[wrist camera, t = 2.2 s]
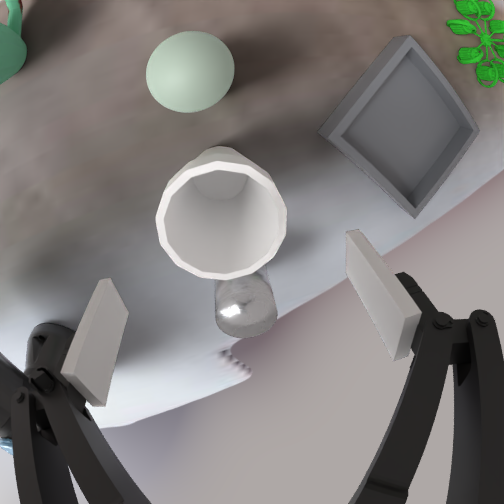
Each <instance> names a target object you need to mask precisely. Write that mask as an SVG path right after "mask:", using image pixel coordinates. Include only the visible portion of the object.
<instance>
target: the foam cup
mask: <svg viewBox="0 0 504 504" xmlns="http://www.w3.org/2000/svg"><path fill="white" fill-rule="evenodd" d="M155 220H156V225H157V230H158V236H159V241H160V245H161V246H162V247H163V249H164V250H165V251H166V253H167V254H168V255H169V256H170V258H171V259H172V260H173V262H174V263H175V264H176V265H177V266H179V267H181V268H183V269H185V270H186V271H188V272H190V273H192V274H194V275H196V276H198V277H200V278H209V279H218V280H230V279H233V278H237V277H241V276H245V275H248V274H252V273H254V272H255V271H256V270H258V269H259V268H260V267H262V266H263V265H264V264H266V263H267V262H268V261H270V260H271V259H272V258H274V256H275V254H276V252H277V250H278V248H279V247H280V245H281V243H282V241H283V239H284V238H285V236H286V222H287V207H286V205H285V203H284V201H283V200H282V198H281V196H280V194H279V192H278V190H277V188H276V186H275V184H274V182H273V180H272V178H271V177H270V175H269V173H268V172H266V171H265V170H263V169H262V168H260V167H259V166H258V165H256V164H255V163H253V162H252V161H250V160H249V159H248V158H246V157H244V156H243V155H241V154H240V153H238V152H237V151H236V150H234V149H233V148H230V147H223V146H216V147H213V148H209V149H206V150H204V151H203V152H202V153H201V154H200V155H199V156H198V157H197V158H196V159H195V160H193V161H189V162H188V163H187V164H186V165H185V166H184V167H183V168H182V169H181V170H180V171H179V172H178V173H177V174H175V175H174V176H173V177H172V178H171V179H170V180H169V182H168V184H167V186H166V188H165V190H164V193H163V196H162V199H161V202H160V205H159V208H158V211H157V214H156V217H155Z"/></svg>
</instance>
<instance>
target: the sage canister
mask: <svg viewBox="0 0 504 504" xmlns="http://www.w3.org/2000/svg"><path fill="white" fill-rule="evenodd" d="M233 77H234V61H233V57H232V55H231V53H230V51H229V49H228V48H227V46H226V45H225V44H224V43H223V42H222V41H221V40H219V39H218V38H216V37H215V36H213V35H211V34H208V33H205V32H199V31H187V32H182V33H178V34H176V35H173V36H171V37H169V38H168V39H166V40H165V41H163V42H162V43H161V44H160V45H159V46H158V47H157V48H156V49H155V50H154V52H153V53H152V55H151V57H150V59H149V61H148V65H147V70H146V79H147V84H148V88H149V90H150V92H151V94H152V95H153V97H154V98H155V99H156V100H157V101H158V102H159V103H160V104H162V105H163V106H165V107H166V108H169V109H171V110H174V111H178V112H186V113H188V112H197V111H201V110H204V109H206V108H209V107H211V106H212V105H214V104H215V103H217V102H218V101H219V100H220V99H221V98H223V96H224V95H225V94H226V93H227V91H228V90H229V88H230V86H231V84H232V81H233Z"/></svg>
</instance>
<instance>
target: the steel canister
mask: <svg viewBox="0 0 504 504" xmlns="http://www.w3.org/2000/svg"><path fill="white" fill-rule="evenodd" d="M215 311H216V323H217V325H218V327H219V328H220V329H221V330H222V331H223V332H224V333H226V334H228V335H230V336H233V337H237V338H251V337H255V336H258V335H261V334H263V333H265V332H266V331H268V330H269V329H270V328H271V327H272V326H273V325H274V323H275V322H276V319H277V308H276V304H275V300H274V296H273V292H272V289H271V285H270V281H269V277H268V273H267V269H266V265H265V264H264V265H263V266H262V267H260V268H259V269H258V270H256V271H255V272H254V273H252V274H248V275H245V276H241V277H237V278H233V279H230V280H218V279H215Z"/></svg>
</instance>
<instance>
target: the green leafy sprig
mask: <svg viewBox="0 0 504 504" xmlns="http://www.w3.org/2000/svg"><path fill="white" fill-rule="evenodd" d="M478 1H479V0H475V1H474V0H470V1H469V0H463V1H458V2H457V1H456V0H454V3H455V5H456V8H457V10H458V11H459V12H460V13H461V14H462V15H463V16H464V17H466V18H467V19H469V20H472V21H475V22H476V23H477V25H478V27H479V29H480V30H481V32H482V33H481V34H480V35H478V34H476V32H477V31H476V27H475V26H473V25H472V24H470V23H469V22H468V21H467V20H462V19H457V20H448V21H447V26H448V27H450V28H451V30H452V31H453V32H454V33H455V34H468V33H473V34H475V35H477V36H479V37H480V39H481V42H482V43H481V44H480V45H479V46H478V47H473V48H461V49H460V50H459V55H458V56H457V59H458V61H459V62H460V63H462V64H469V63H476V62H479V61H480V59H481V58H482V57H483V55H484V53H483V51H482V49H481V48H480V47H481V46H482V45H484V46H485V47H486V59H484V60H481V61H480V62H479V63H478V65H477V68H476V73H477V79H478V81H479V83H480V84H481V85H483V86H485V85H484V84H483V83H482V82H481V80H480V79H482V80H487V81H492V80H493V81H494V82H493V83H492V84H491V85H489V86H485V87H487V88H491V87H493V86H495V84H496V83H497V81H498V79H499V80H500V81H501V82H503V83H504V80H503V79H501V78H504V65H503V64H504V61H502V60H501V59H498V58H496V56H495V54H494V52H493V50H492V48H491V43H492V44H493V45H495V51H497V52H498V54H499V56H500V57H502V58H504V45H496V44H494V43H493V42H492V41H496V42H504V39H491V38H490V37H491V36H492V35H493V34H494V33H504V21H501V20H492V21H490V26H489V27H488V28H489V30H490V31H491V32H493V33H492V34H491V35H488V34H487V29H486V21H488V20H490V19H492V17H493V16H494V13H495V7H494V4H493V2H492V1H491V0H489V1H490V3H491V5H490V3H488V2H478ZM461 8H462V9H461ZM474 13H475V15H476V16H477V17H478V18H471V17H469V16H467V15H470V14H474ZM478 14H479V16H478ZM481 15H490V16H489V17H488V18H485V19H482V18H480V17H481ZM478 19H481V20H483V21H484V23H485V33H484V32H483V31H482V29H481V28H480V26H479V24H478V22H477V21H476V20H478ZM455 27H456V28H455ZM472 29H474V30H472ZM503 38H504V37H503ZM488 46H489V47H490V49H491V51H492V53H493V55H494V57H495V58H494V59H492V60H491V61H489V60H488ZM478 51H480V52H481V53H479V52H478ZM467 55H468V56H467ZM460 58H461V60H460ZM493 61H499V62H501V63H502V64H494V63H493ZM484 62H490V66H491V67H492V68H491V67H489V66H481V65H482V63H484Z"/></svg>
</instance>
